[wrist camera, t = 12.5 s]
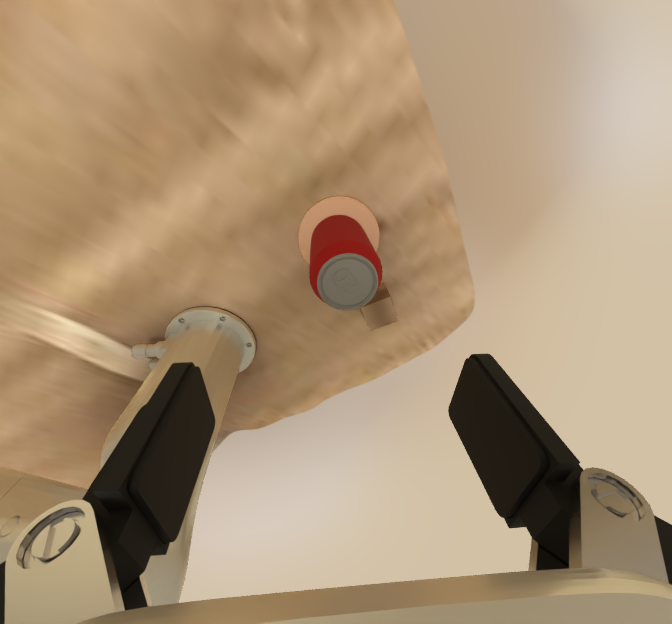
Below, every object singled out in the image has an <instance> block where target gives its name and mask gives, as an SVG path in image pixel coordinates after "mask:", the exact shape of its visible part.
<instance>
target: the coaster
mask: <svg viewBox="0 0 672 624" xmlns="http://www.w3.org/2000/svg"><path fill="white" fill-rule="evenodd" d="M333 215H345V216H349V217H351V218H353V219H355V220H356V221H357V222H358V223H359V224H360V225H361V226H362V228H363V230H364V231H365V233H366V235H367V236H368V238H369V240H370V242H371V244H372V246H373V248H374V250H375V252H376V251H377V249H378V245H379V239H380V233H379V227H378V223H377V221H376V219H375V217H374V215H373V214H372V212H371V211H370V210H369V209H368V208H367V207H366V206H365V205H364V204H363V203H361V202H360V201H358V200H356V199H353V198H350V197H346V196H333V197H329V198H326V199H323V200H321V201H319V202H317V203H316V204H315V205H313V206H312V207H311V208H310V209H309V210H308V212H307V213H306V214H305V216H304V218H303V219H302V222H301V224H300V228H299V234H298V242H299V248H300V251H301V254H302V256H303V258H304V259H305V261H306V262H307V263H308V265H309V266H310V246H311V237H312V233H313V231H314V229H315V228H316V226H317V225H318V224H319V223H320V222H321V221H322V220H324V219H325V218H327V217H330V216H333Z"/></svg>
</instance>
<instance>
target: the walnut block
mask: <svg viewBox="0 0 672 624" xmlns="http://www.w3.org/2000/svg"><path fill="white" fill-rule="evenodd" d="M360 308H361V310H362V313H363V315H364V317H365V320H366V322H367V325H368V327H369V329H370V331H371V330H374V329H377V328H379V327H382V326H385V325H388V324H391V323H393V322H396V321H398V318H397V315H396V312H395V309H394V306H393V303H392V300H391V298H390V295H389V293H388V291H387V289H386V287H385V285H384V283H382V284H380V285H379V287H378V289H377V291H376V293H375V295H374V296H373V298H372V299H371V300H370V301H369V302H368V303H367V304H365V305H364V306H362V307H360Z"/></svg>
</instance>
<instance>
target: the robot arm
mask: <svg viewBox="0 0 672 624" xmlns="http://www.w3.org/2000/svg"><path fill="white" fill-rule="evenodd" d="M255 352H256V341H255V337H254V335H253V333H252V331H251V330H250V328H249V327H248V326H247V325H246V324H245V323H244V322H243V321H242V320H241V319H240V318H238V317H237V316H235V315H233V314H231V313H229V312H227V311H224V310H221V309H218V308H212V307H196V308H191V309H188V310H185V311H183V312H181V313H180V314H178V315H177V316H176V317H175V318H174V319H173V320H172V321H171V322H170V324H169V325H168V327H167V329H166V332H165V341H159V342H157V344H136V345H134V346H133V347H132V356H133V357H134V358H149V357H157V358H158V359H153V360H150V362H149V368H150V369H152V371H151V372H150V374H149V375H148V377H147V378H146V379H145V381H144V382H143V384H142V385H141V387H140V388H139V390H138V391H137V392H136V394H135V395H134V397H133V398H132V400H131V401H130V403H129V404H128V405H127V407H126V408H125V410H124V411H123V413H122V414H121V415H120V417H119V418H118V420H117V421H116V423H115V424H114V426H113V427H112V429H111V430H110V432H109V433H108V435H107V437H106V440H105V442H104V445H103V448H102V453H101V458H100V472H99V473H98V475H97V477H96V478H95V480H94V481H93V483H92V484H91V486H90V488H89V489H84V488H81V487H77V486H73V485H69V484H66V483H62V482H58V481H54V480H51V479H47V478H43V477H39V476H36V475H32V474H28V473H25V472H21V471H17V470H13V469H8V468H3V467H0V624H672V525H671V524H669V523H667V522H665V521H663V520H661V519H660V518H658V517H656V516H654V514H653V512H652V509H651V507H650V505H649V504H648V502H647V501H646V500H645V498H644V497H643V496H642V495H641V494H640V493H639V492H638V491H637V490H636V489H635V488H634V487H633V486H632V485H631V484H629V483H628V482H627V481H625V480H624V479H622V478H621V477H619V476H617V475H615V474H614V473H611V472H609V471H606V470H603V469H599V468H587V469H585V470H583V469H582V468H581V467H580V465H579V463H580V462H579V460H578V459H577V458H576V457H575V456H574V455H573V453H572V452H571V451H570V450H569V448H568V447H567V446H566V445H565V443H564V442H563V441H562V440H561V439H560V437H559V436H558V435H557V434H556V433H555V431H554V430H553V429H552V428H551V427H550V425H549V424H548V423H547V422H546V421H545V419H544V418H543V417H542V416H541V415H540V414H539V412H538V411H537V410H536V409H535V407H534V406H533V405H532V404H531V403H530V401H529V400H528V399H527V398H526V396H525V395H524V394H523V393H522V392H521V390H520V389H519V388H518V387H517V386H516V385H515V383H514V382H513V381H512V380H511V379H510V377H509V376H508V375H507V374H506V372H505V371H504V370H503V369H502V368H501V366H500V365H499V364H498V363H497V362H496V360H495V359H494V358H493V357H492V356H491V355H490V354H472V355H471V356H470V357H469V358H467V359H466V360H465V363H464V365H463V368H462V371H461V374H460V377H459V380H458V383H457V385H456V388H455V391H454V394H453V397H452V400H451V403H450V406H449V416H450V419H451V421H452V423H453V425H454V427H455V429H456V431H457V433H458V435H459V437H460V439H461V441H462V443H463V445H464V447H465V449H466V451H467V453H468V455H469V457H470V459H471V461H472V463H473V465H474V467H475V469H476V471H477V473H478V475H479V477H480V479H481V481H482V483H483V485H484V488H485V489H486V492H487V494H488V496H489V498H490V500H491V502H492V504H493V506H494V507H495V510H496V511H497V513H498V514H499V515H500V516H501V517H503V518H504V519H505V521H506V523H507V525H508V527H509V528H518V527H527V529H528V531H529V533H530V535H531V536H532V541H531V551H530V561H529V571H522V572H509V573H498V574H485V575H473V576H462V577H450V578H438V579H427V580H415V581H405V582H394V583H382V584H370V585H359V586H349V587H337V588H326V589H315V590H304V591H295V592H283V593H273V594H262V595H252V596H241V597H232V598H220V599H211V600H202V601H193V602H185V603H178V601H179V598H180V594H181V591H182V588H183V584H184V580H185V575H186V569H187V565H188V558H189V551H190V545H191V538H192V531H193V525H194V519H195V513H196V509H197V504H198V500H199V495H200V492H201V488H202V484H203V480H204V476H205V473H206V470H207V467H208V463H209V460H210V457H211V454H212V451H213V448H214V445H215V442H216V439H217V436H218V433H219V430H220V426H221V423H222V420H223V417H224V414H225V411H226V408H227V405H228V402H229V399H230V396H231V392H232V389H233V386H234V383H235V380H236V377H237V374H238V373H240V372H242V371H243V370H245V369H246V368H247V367H248V366H249V365H250V364H251V362H252V360H253V358H254V355H255Z"/></svg>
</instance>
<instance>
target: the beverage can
mask: <svg viewBox="0 0 672 624" xmlns="http://www.w3.org/2000/svg"><path fill="white" fill-rule="evenodd" d="M381 279H382V265H381V262H380V260H379V258H378V256H377V254H376V252H375V250H374V248H373V246H372V244H371V242H370V240H369V238H368V236H367V235H366V233H365V231H364V230H363V228H362V226H361V225H360V224H359V223H358V222H357V221H356V220H355V219H353V218H351V217H349V216H345V215H333V216H330V217H327V218H325V219H324V220H322V221H321V222H320V223H319V224H318V225H317V226H316V228H315V229H314V231H313V233H312V237H311V246H310V283H311V286H312V289H313V291H314V292H315V294H316V295H317V296H318V297H319V298H320V299H321V300H322V301H324V302H325V303H327V304H328V305H329V306H331V307H333V308H335V309H339V310H354V309H357V308H360V307H362V306H364V305H365V304H367V303H368V302H369V301H370V300H371V299H372V298H373V296H374V295H375V293H376V291H377V289H378V287H379V285H380V283H381Z"/></svg>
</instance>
